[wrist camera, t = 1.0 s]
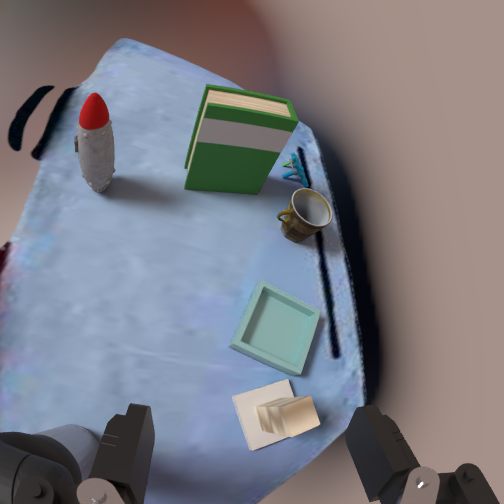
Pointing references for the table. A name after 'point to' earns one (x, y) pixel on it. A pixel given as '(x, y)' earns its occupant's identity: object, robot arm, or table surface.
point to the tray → (276, 329)
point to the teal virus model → (296, 169)
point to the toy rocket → (95, 143)
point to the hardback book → (237, 139)
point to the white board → (249, 416)
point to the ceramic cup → (305, 215)
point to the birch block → (287, 415)
